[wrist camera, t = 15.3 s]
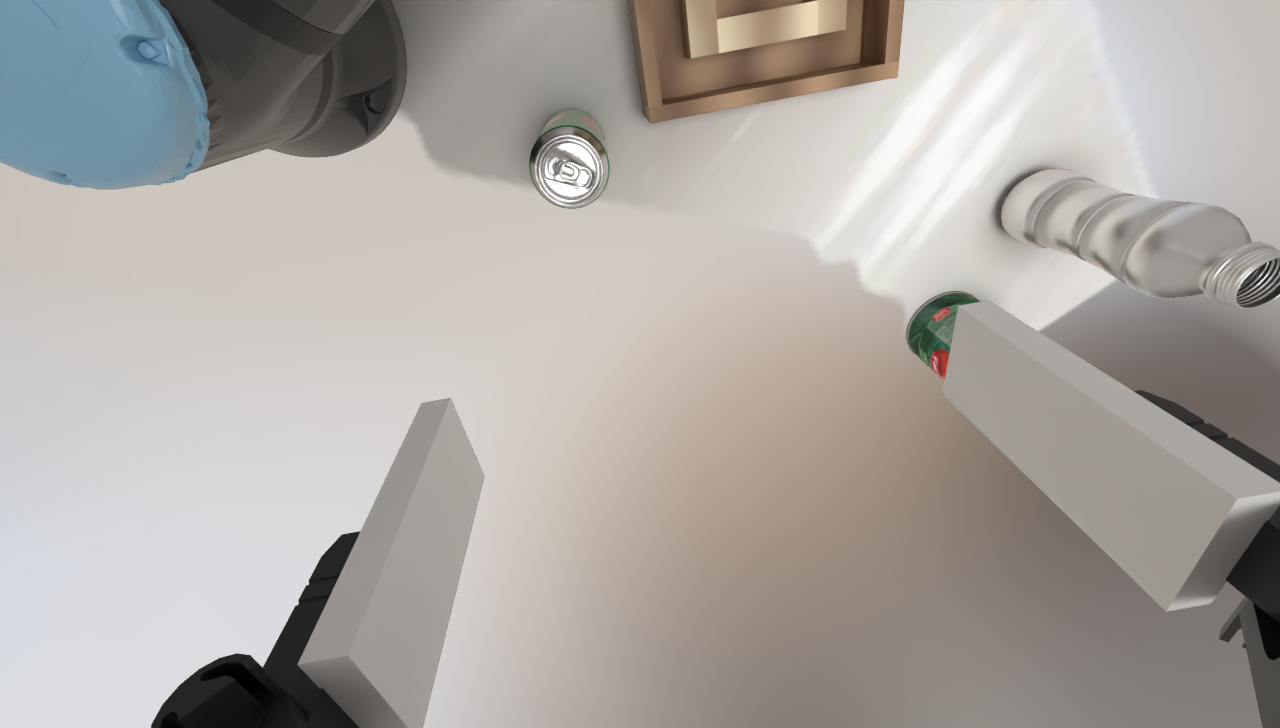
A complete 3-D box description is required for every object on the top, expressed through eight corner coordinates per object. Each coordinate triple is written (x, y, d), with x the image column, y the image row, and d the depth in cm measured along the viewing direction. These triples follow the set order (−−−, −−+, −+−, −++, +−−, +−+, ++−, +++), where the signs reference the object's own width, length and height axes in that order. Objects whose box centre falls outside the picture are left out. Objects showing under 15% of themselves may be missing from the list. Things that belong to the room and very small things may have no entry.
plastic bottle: (981, 194, 47) (1201, 275, 30) (1055, 147, 46) (1332, 205, 29) (999, 249, 50) (1209, 350, 33) (1070, 207, 49) (1328, 291, 32)
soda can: (553, 97, 40) (542, 112, 30) (614, 124, 42) (622, 148, 32) (534, 160, 43) (517, 195, 33) (592, 184, 44) (593, 224, 34)
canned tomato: (891, 349, 55) (953, 410, 46) (932, 282, 52) (1008, 334, 42) (952, 364, 57) (1024, 426, 48) (996, 301, 53) (1083, 354, 44)
